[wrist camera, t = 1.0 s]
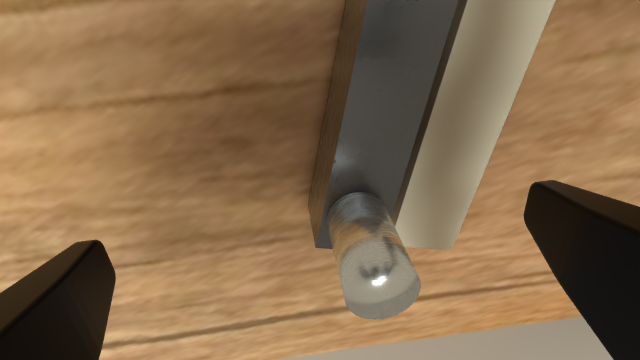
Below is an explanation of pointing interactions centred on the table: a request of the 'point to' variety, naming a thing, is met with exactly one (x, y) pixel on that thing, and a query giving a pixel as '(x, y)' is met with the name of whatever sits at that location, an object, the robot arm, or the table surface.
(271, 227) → the table surface
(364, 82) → the stool leg
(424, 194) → the rail
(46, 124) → the table surface
